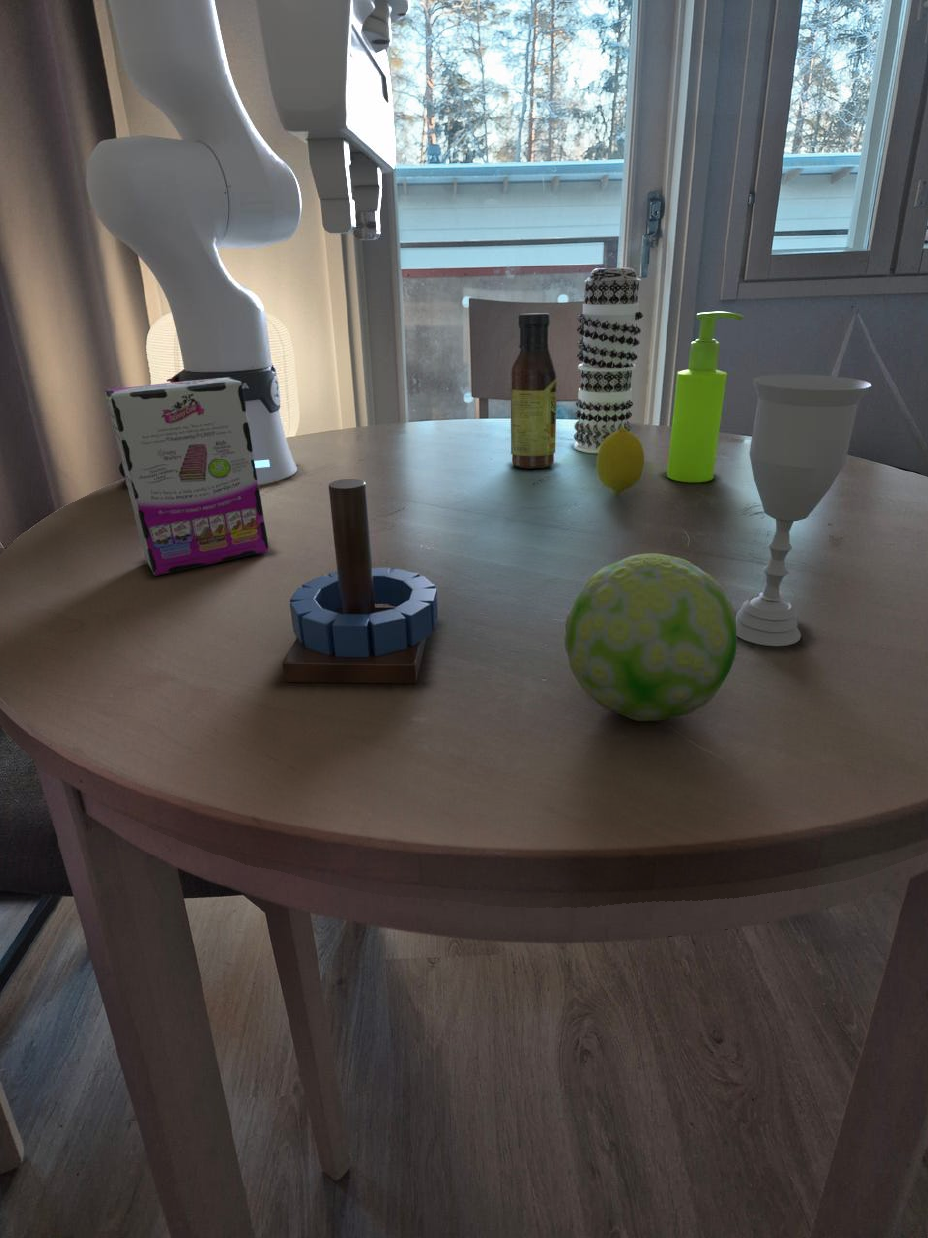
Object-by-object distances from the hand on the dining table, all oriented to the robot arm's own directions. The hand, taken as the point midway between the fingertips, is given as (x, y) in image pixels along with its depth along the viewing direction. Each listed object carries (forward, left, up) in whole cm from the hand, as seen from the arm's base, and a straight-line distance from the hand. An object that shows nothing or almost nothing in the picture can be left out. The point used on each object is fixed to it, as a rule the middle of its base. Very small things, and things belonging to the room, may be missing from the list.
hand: (354, 236), depth 48 cm
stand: (0, -9, -27) cm, 29 cm away
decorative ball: (+19, -16, -27) cm, 37 cm away
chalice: (+30, -5, -27) cm, 41 cm away
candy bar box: (-19, +10, -27) cm, 35 cm away
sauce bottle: (+14, +47, -27) cm, 56 cm away
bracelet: (0, -7, -26) cm, 27 cm away
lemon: (+24, +32, -27) cm, 48 cm away
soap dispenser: (+35, +40, -27) cm, 60 cm away
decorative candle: (+25, +58, -27) cm, 69 cm away
